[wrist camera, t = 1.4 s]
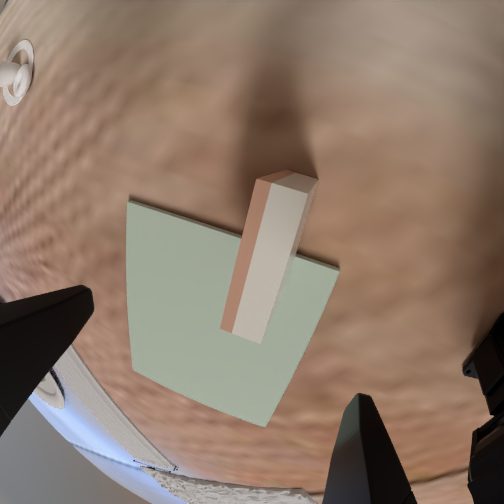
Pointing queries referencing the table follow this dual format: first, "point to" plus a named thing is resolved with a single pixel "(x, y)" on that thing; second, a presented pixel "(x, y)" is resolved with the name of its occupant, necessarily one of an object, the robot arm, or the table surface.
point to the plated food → (50, 392)
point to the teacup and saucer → (17, 74)
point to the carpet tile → (225, 491)
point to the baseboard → (107, 409)
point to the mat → (212, 315)
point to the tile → (267, 251)
